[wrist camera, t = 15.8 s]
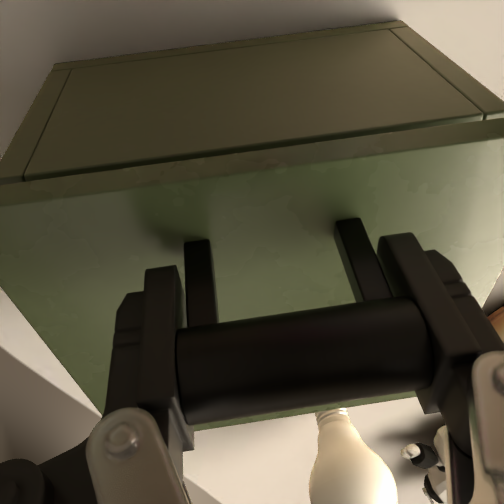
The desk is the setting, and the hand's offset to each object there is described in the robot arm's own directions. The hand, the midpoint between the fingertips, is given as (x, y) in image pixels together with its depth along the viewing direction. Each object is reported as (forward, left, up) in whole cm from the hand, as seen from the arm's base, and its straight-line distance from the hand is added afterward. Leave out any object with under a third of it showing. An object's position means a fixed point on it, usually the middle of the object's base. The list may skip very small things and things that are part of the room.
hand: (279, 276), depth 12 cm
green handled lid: (+5, 0, -2) cm, 5 cm away
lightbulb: (+28, +5, -12) cm, 31 cm away
